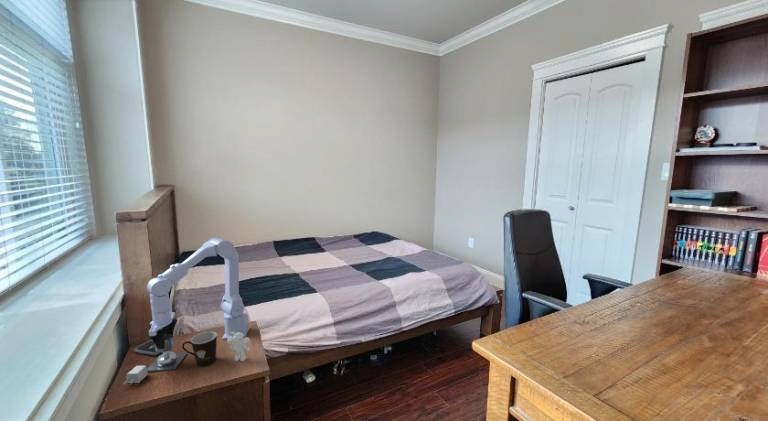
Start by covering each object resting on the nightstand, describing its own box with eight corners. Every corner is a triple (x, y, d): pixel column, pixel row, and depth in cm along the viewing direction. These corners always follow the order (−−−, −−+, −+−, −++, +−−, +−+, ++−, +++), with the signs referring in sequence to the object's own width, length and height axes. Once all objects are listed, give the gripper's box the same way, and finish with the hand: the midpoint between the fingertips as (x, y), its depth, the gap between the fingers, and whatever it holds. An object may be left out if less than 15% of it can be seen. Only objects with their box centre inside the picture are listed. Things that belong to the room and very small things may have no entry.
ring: (176, 343, 125) (175, 333, 124) (169, 351, 119) (168, 341, 119) (161, 344, 124) (159, 334, 123) (152, 353, 118) (151, 343, 118)
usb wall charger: (147, 375, 115) (146, 365, 115) (133, 389, 108) (132, 378, 108) (136, 375, 115) (135, 365, 115) (121, 389, 108) (119, 378, 108)
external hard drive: (150, 344, 136) (150, 340, 135) (171, 348, 133) (171, 343, 133) (134, 354, 129) (133, 349, 129) (156, 357, 126) (155, 353, 126)
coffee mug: (224, 357, 126) (222, 333, 124) (205, 370, 118) (203, 345, 116) (201, 351, 129) (199, 328, 128) (182, 364, 121) (179, 340, 120)
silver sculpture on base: (187, 353, 128) (186, 340, 127) (175, 369, 118) (173, 355, 117) (160, 356, 127) (158, 343, 126) (145, 372, 117) (143, 358, 116)
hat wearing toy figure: (226, 361, 123) (224, 332, 121) (232, 355, 127) (230, 326, 125) (248, 363, 122) (246, 333, 120) (253, 357, 126) (251, 328, 124)
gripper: (159, 302, 126) (163, 334, 128) (137, 320, 112) (142, 356, 114) (179, 301, 127) (182, 333, 129) (159, 318, 113) (163, 354, 115)
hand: (165, 343), depth 121 cm, fingers closed on ring, 6 cm apart
